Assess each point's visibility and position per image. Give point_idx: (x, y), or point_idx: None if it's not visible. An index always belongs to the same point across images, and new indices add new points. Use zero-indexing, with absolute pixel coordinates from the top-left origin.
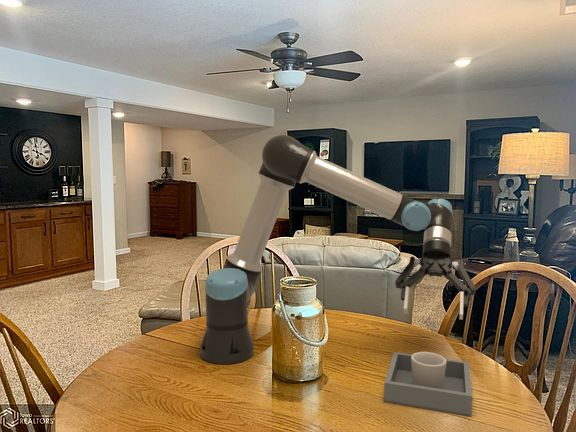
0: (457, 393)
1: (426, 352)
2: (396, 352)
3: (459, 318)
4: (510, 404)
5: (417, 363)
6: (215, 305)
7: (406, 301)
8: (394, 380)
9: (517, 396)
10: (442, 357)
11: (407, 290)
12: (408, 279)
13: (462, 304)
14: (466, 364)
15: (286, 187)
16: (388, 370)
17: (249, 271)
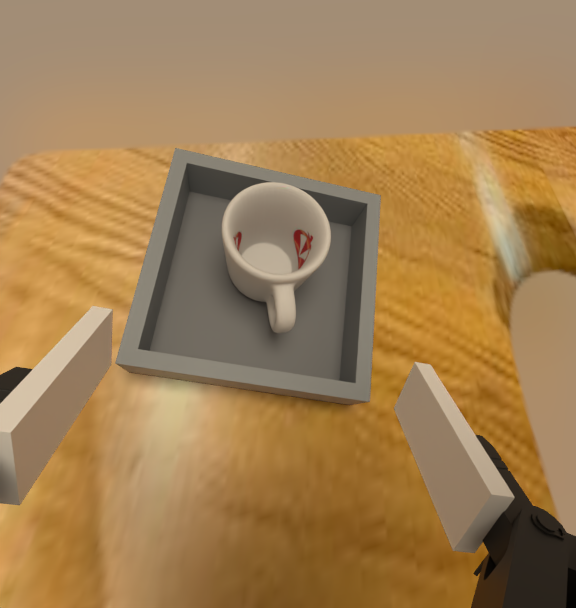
0: (209, 159)
1: (280, 274)
2: (361, 398)
3: (110, 360)
4: (56, 240)
5: (313, 199)
6: None
7: (437, 394)
8: (346, 308)
9: (12, 285)
10: (231, 242)
11: (479, 462)
12: (552, 591)
13: (62, 345)
14: (131, 339)
15: None
16: (376, 260)
17: None
